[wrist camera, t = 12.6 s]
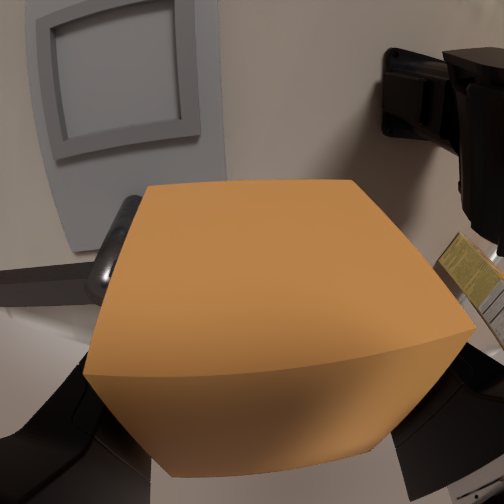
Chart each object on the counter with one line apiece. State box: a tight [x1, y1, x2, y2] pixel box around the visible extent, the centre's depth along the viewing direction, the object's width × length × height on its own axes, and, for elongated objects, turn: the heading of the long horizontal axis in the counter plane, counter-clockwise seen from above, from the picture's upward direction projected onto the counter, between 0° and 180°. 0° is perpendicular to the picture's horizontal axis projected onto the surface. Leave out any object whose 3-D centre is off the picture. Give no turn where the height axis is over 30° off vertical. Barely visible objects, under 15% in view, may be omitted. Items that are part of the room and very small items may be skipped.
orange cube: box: [83, 179, 476, 478], centre depth 8 cm, size 6×6×6 cm
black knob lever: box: [0, 195, 143, 307], centre depth 14 cm, size 19×2×8 cm, turn 91°
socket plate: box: [25, 0, 227, 252], centre depth 15 cm, size 12×20×2 cm, turn 2°
